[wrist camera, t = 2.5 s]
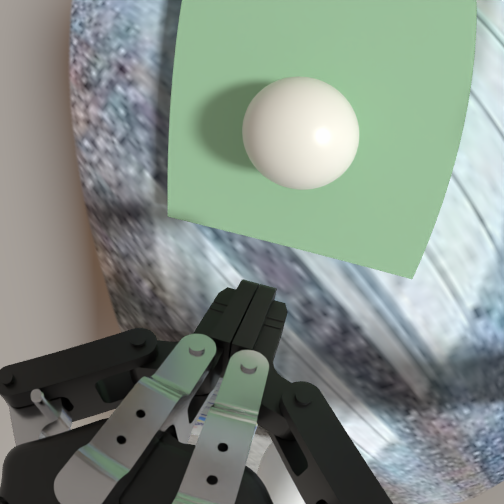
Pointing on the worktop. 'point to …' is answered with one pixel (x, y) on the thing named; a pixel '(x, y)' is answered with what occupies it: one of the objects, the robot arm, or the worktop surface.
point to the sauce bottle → (278, 478)
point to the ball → (300, 133)
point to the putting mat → (358, 95)
